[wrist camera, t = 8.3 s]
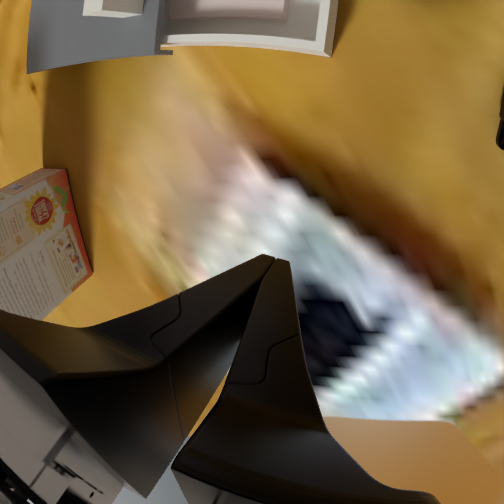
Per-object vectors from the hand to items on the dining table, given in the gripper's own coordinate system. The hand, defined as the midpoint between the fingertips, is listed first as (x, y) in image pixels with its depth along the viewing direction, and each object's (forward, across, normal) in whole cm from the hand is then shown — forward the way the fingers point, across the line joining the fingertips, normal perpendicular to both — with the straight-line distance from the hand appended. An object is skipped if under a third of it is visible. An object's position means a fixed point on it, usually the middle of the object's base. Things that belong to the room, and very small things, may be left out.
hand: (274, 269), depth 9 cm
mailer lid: (+10, +18, -12) cm, 24 cm away
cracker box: (+13, +28, +12) cm, 33 cm away
